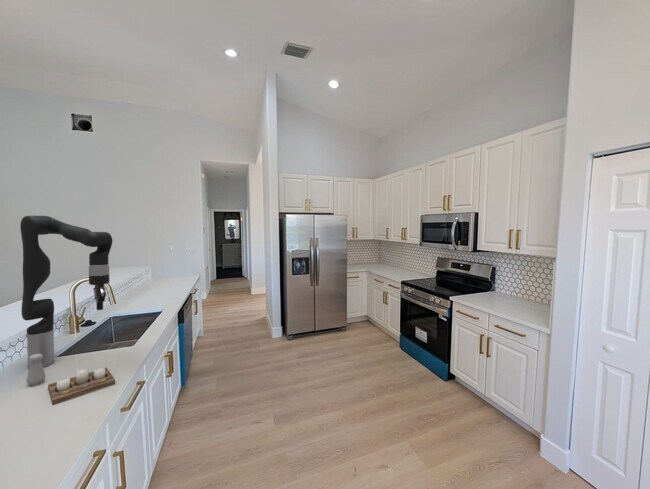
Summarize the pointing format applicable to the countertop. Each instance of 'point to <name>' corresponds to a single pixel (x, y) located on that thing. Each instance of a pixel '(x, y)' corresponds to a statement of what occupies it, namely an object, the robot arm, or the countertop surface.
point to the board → (80, 387)
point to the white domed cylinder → (63, 384)
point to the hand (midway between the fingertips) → (99, 309)
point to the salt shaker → (35, 370)
